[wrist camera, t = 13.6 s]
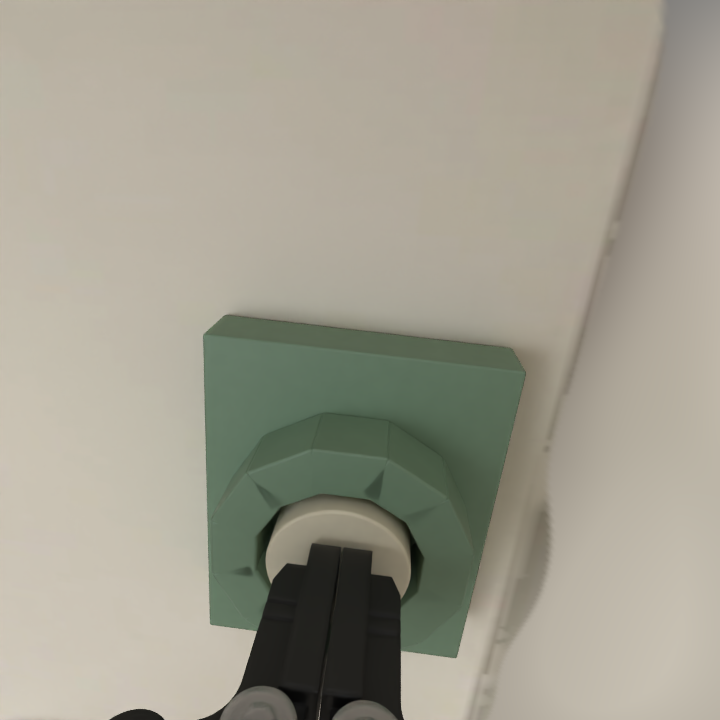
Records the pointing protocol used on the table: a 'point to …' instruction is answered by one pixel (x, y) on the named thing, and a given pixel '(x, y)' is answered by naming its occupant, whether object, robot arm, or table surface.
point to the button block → (355, 454)
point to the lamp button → (341, 535)
